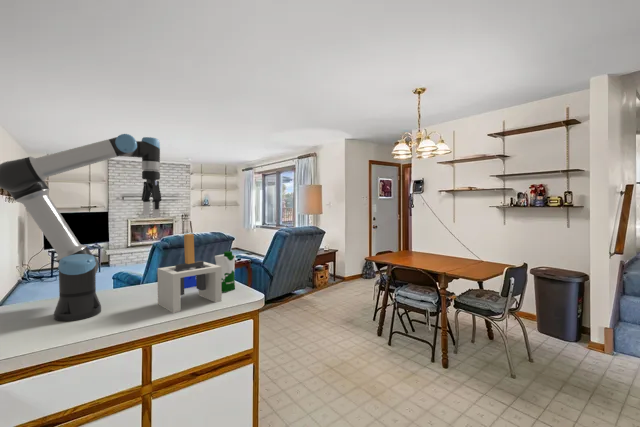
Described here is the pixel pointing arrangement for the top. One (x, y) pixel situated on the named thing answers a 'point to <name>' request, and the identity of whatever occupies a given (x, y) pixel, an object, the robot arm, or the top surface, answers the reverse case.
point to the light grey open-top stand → (171, 285)
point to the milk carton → (227, 270)
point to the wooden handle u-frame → (191, 264)
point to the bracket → (190, 281)
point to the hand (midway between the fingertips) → (151, 215)
